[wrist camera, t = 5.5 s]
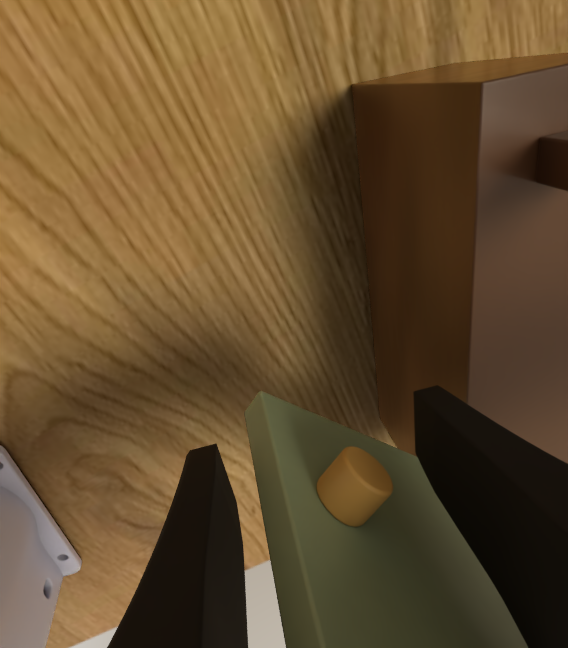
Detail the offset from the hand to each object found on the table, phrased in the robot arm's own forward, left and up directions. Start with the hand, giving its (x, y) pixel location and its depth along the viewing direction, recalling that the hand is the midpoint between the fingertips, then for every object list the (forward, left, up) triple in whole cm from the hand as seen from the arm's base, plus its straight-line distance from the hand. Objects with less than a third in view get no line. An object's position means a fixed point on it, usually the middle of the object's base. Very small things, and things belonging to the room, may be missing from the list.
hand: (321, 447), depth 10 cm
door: (-3, -3, -1) cm, 4 cm away
